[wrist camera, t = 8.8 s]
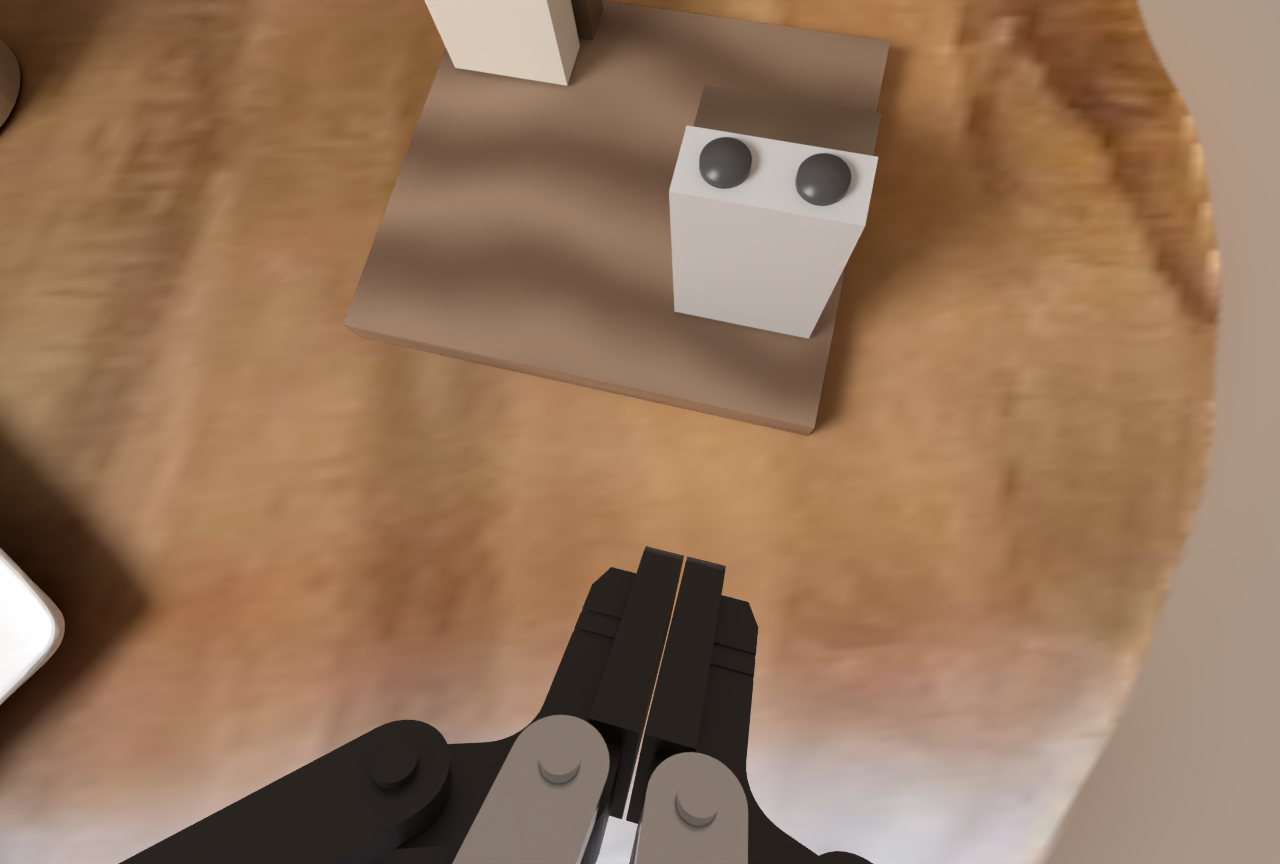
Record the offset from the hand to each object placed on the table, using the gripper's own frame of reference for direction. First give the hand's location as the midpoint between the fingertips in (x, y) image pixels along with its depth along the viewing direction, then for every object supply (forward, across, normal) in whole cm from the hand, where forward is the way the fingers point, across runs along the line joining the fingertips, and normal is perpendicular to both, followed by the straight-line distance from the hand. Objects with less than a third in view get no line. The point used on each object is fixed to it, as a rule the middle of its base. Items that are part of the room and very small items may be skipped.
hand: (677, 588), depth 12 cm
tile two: (+19, 0, +1) cm, 19 cm away
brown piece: (+23, +7, -1) cm, 24 cm away
